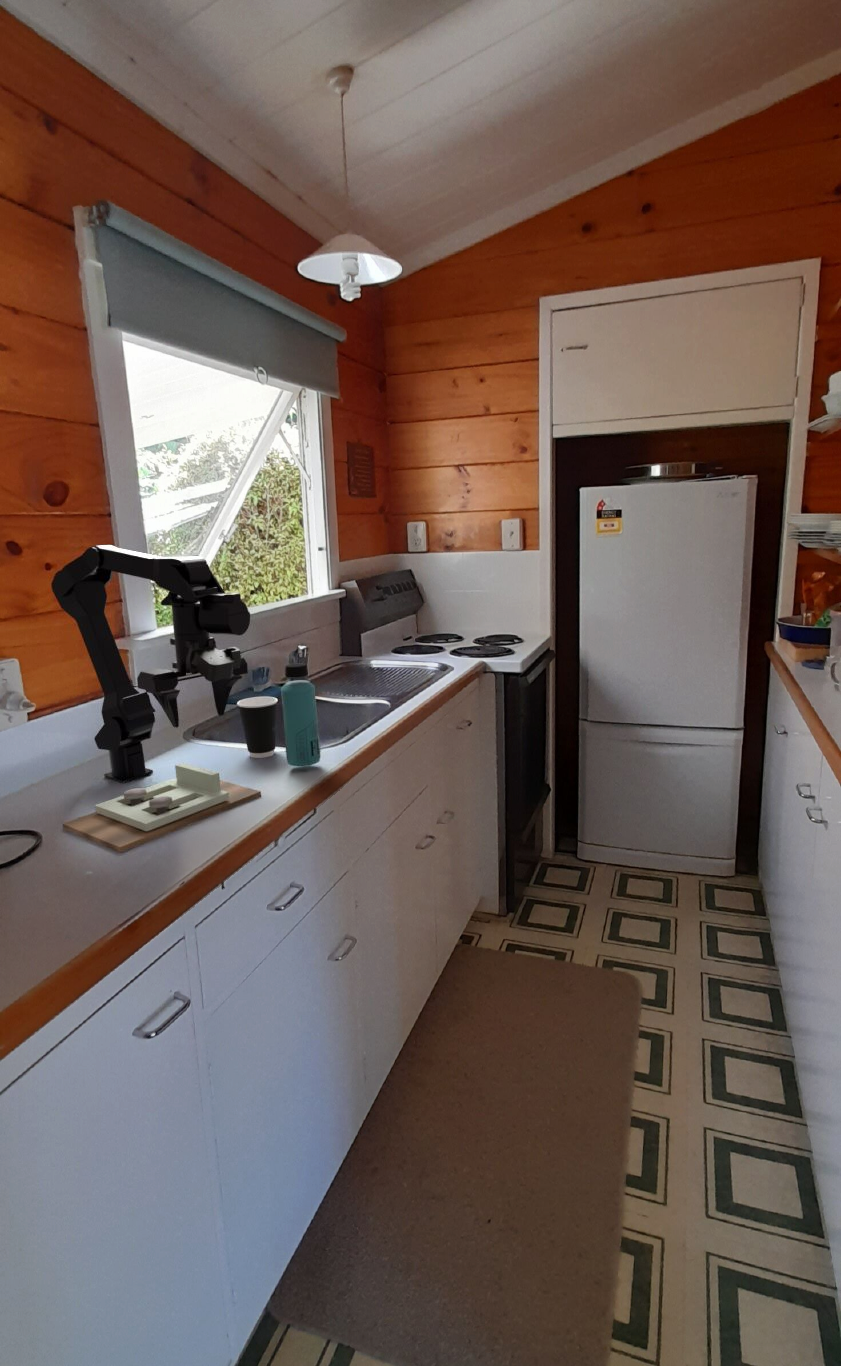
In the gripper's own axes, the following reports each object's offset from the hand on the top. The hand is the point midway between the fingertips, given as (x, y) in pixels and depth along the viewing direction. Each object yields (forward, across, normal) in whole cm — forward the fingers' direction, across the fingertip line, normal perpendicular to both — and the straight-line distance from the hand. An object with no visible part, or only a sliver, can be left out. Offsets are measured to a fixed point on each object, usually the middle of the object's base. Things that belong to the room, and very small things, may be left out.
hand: (198, 721), depth 128 cm
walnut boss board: (+12, -11, -5) cm, 17 cm away
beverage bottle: (+12, +16, -8) cm, 22 cm away
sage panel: (+11, -11, -5) cm, 16 cm away
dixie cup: (+12, +18, +6) cm, 22 cm away
